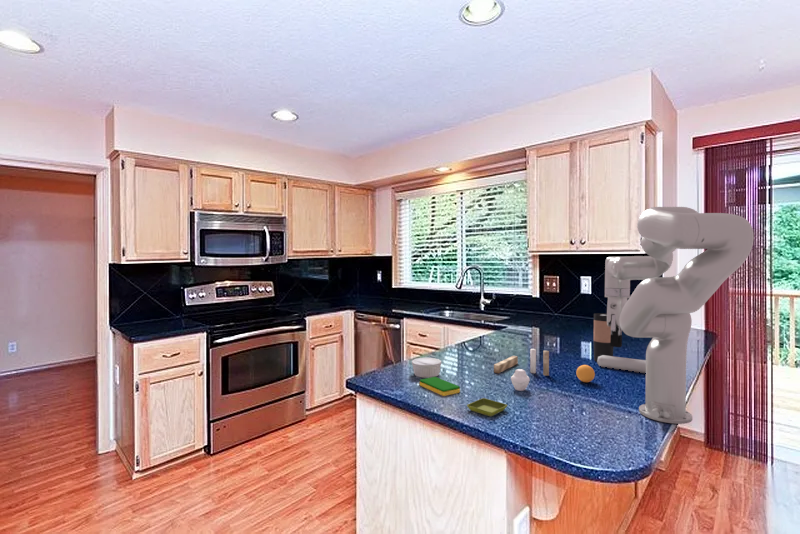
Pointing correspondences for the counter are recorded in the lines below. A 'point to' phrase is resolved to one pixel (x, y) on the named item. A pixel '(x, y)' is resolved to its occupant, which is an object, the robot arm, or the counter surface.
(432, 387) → the dish sponge
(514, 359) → the rail
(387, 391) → the counter surface
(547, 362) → the birch pin
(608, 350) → the travel mug
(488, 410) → the olive square dish
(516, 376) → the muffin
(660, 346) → the robot arm
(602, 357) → the tube
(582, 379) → the ball
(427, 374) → the ramekin
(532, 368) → the white pin
